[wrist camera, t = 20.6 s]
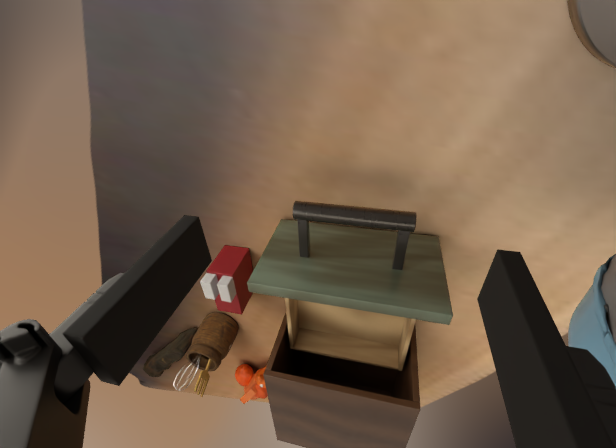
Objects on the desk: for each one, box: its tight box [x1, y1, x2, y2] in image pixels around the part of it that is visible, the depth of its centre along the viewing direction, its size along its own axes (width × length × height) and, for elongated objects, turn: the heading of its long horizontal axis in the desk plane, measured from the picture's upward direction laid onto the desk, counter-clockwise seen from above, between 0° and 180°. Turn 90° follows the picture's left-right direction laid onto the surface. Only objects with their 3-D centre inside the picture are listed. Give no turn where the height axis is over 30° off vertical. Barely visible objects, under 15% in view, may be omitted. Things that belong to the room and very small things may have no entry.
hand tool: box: [143, 328, 197, 377], centre depth 57 cm, size 19×4×5 cm, turn 138°
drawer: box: [247, 201, 453, 371], centre depth 32 cm, size 24×17×10 cm
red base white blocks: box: [200, 245, 253, 314], centre depth 39 cm, size 7×3×6 cm, turn 2°
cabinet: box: [263, 313, 420, 448], centre depth 42 cm, size 18×17×11 cm
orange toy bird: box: [235, 364, 268, 404], centre depth 55 cm, size 5×8×12 cm
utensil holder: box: [174, 312, 238, 397], centre depth 46 cm, size 6×6×12 cm
